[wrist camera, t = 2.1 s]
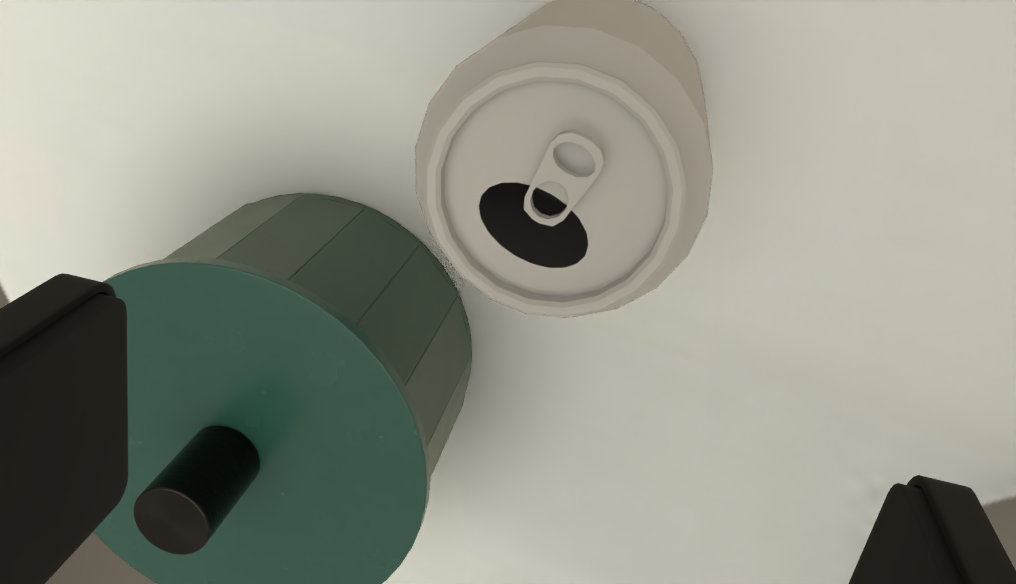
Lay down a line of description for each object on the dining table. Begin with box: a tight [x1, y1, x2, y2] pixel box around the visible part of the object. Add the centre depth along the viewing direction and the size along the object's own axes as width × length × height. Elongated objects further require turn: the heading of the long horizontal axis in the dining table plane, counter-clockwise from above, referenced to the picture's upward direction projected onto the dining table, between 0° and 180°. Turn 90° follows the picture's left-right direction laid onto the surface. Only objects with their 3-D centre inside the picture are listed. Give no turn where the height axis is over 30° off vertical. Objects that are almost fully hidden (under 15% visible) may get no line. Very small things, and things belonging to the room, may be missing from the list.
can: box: [415, 0, 713, 318], centre depth 26 cm, size 8×8×12 cm
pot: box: [163, 193, 472, 476], centre depth 33 cm, size 13×13×8 cm
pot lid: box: [93, 257, 431, 584], centre depth 28 cm, size 14×14×5 cm
